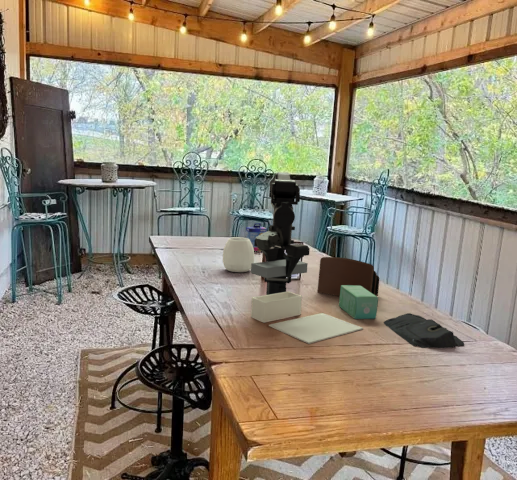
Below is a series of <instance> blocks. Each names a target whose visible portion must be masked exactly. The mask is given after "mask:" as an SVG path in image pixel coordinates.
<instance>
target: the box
mask: <svg viewBox="0 0 517 480" xmlns="http://www.w3.org/2000/svg"><path fill="white" fill-rule="evenodd" d="M338 299H339V301H338V307H339V308H341V309H342V310H343V311H344V312H345V313H346V314H348V315H349V316H351V318H353V319H354V320H373V319H376V318H377V313H378V304H379V297H377V296H375V295H374V294H372V293H371V292H369V291H368V290H366V289H365V288H363V287H362V286H354V285H341V289H340V297H339V298H338Z"/></svg>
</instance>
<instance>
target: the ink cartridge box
mask: <svg viewBox="0 0 517 480" xmlns="http://www.w3.org/2000/svg"><path fill="white" fill-rule="evenodd" d="M267 230H268V228H267V227H264V226H262V223H254V224H253V226H246V227H245V238H247V239H250V241H251V243H252V245H253V248H254V251H261V250H259V248H258V247H256V246H254V242H255V239H256V237H257V236H259V235H261V234H263V233H265V232H267Z"/></svg>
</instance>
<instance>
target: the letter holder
mask: <svg viewBox="0 0 517 480" xmlns="http://www.w3.org/2000/svg"><path fill="white" fill-rule="evenodd" d="M341 285H354V286H362V287H363V288H365V289H366V290H368V291H369V292H371V293H372V294H374V295H375V296H379V288H380V287H379V286H380V277H379V275H377V272H376V270H375V267H374V265H373V264H371V263H368V262H364V261H363V260H362V261H361V260H357V259H352V258H346V257H337V256H335V257H333V256H331V257H330V256H323V257H321V258H320V261H319V270H318V282H317V293H318V294H319V293H320V294H324V295H325V294H326V295H329V296H335V297H339V298H340V289H341Z"/></svg>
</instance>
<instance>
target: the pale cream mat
mask: <svg viewBox="0 0 517 480" xmlns="http://www.w3.org/2000/svg"><path fill="white" fill-rule="evenodd" d="M268 327H270V328H273V329H275V330H277V331H278V332H281V333H283V334H285V335H288V336H291V337H292V338H295V339H297V340H299V341H301V342H304V343H306V344H308V345H310V344H313V343H314V344H315V343H318V342H320V341H326V340H327V339H332V338H335V337H339V336H340V337H341V336H343V335H346V334H350V333H354V332H358V331H362V330H364V327H362V326H359V325H356V324H354V323H350V322H348V321H347V320H346V321H345V320H343V319H340V318H337V317H334V316H332V315H330V314H327V313H323V312H320V313H315V314H311V315H307V316H302V317H298V318H297V317H296V318H293V319H288V320H285V321H280V322H276V323H271V324H268Z"/></svg>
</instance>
